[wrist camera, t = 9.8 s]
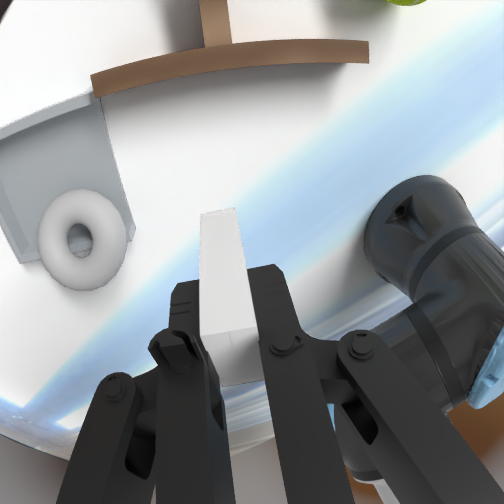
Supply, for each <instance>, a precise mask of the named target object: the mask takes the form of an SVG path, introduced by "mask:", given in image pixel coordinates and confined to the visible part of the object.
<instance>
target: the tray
mask: <svg viewBox="0 0 504 504" xmlns="http://www.w3.org/2000/svg"><path fill="white" fill-rule="evenodd" d="M77 189H87V190H91V191H95V192H98V193H99V194H101V195H102V196H104V197H105V198H107V199H108V200H110V201H111V202H112V204H113V205H114V206H115V208H116V209H117V210H118V212H119V213H120V215H121V218H122V220H123V223H124V226H125V228H126V240H127V242H130V241H132V239H133V236H134V232H135V229H136V227H135V224H134V221H133V218H132V214H131V211H130V208H129V205H128V202H127V199H126V195H125V192H124V189H123V186H122V182H121V179H120V175H119V172H118V168H117V165H116V161H115V158H114V154H113V150H112V147H111V143H110V139H109V135H108V131H107V127H106V123H105V119H104V115H103V111H102V106H101V102H100V97H97V98H95V96H94V91H91V92H88V93H85V94H82V95H79V96H76V97H73V98H70V99H67V100H65V101H62V102H59V103H57V104H54V105H52V106H49V107H46V108H44V109H42V110H39V111H37V112H34V113H32V114H30V115H27V116H25V117H23V118H21V119H18V120H16V121H14V122H12V123H10V124H8V125H6V126H4V127H2V128H0V226H1V228H2V230H3V232H4V234H5V236H6V238H7V240H8V242H9V244H10V246H11V248H12V250H13V252H14V254H15V256H16V258H17V259H18V261H19V263H20V264H21V263H25V262H30V261H35V260H39V259H41V257H40V254H39V249H38V239H37V236H38V229H39V223H40V221H41V219H42V216H43V214H44V212H45V210H46V208H47V207H48V206H49V205H50V204H51V202H52V201H53V200H54V199H55V198H56V197H58V196H60V195H62V194H63V193H65V192H67V191H70V190H77ZM67 238H68V245H69V248H70V250H71V251H72V253H73V252H78V251H83V250H88V249H92V247H93V237H92V234H91V232H90V230H89V229H88V228H87V227H86V226H85V225H83V224H80V223H79V224H75V225H73V226H72V227H71V228H70V230H69V232H68V237H67Z"/></svg>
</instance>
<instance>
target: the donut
mask: <svg viewBox="0 0 504 504" xmlns="http://www.w3.org/2000/svg"><path fill="white" fill-rule="evenodd" d="M79 223H80V224H83V225H85V226H86V227H87V228H88V229H89V230H90V232H91V234H92V237H93V247H92V250H91V252H90V254H89V255H88V256H85V257H78V256H76V255H75V254H73V253H72V251H71V250H70V248H69V245H68V238H67V237H68V232H69V230H70V228H71V227H72V226H73V225H75V224H79ZM37 239H38V249H39V254H40V257H41V259H42V262H43V264H44V266H45V268H46V269H47V271H48V272H49V273H50V275H51V276H52V277H53V278H54V279H55V280H56V281H58V282H59V283H60V284H62V285H63V286H65V287H67V288H70V289H73V290H76V291H91V290H94V289H97V288H99V287H101V286H104V285H106V284H107V283H108V282H109V281H110V280H111V279H112V278H113V277H114V276H115V275H116V274H117V272H118V270H119V268H120V267H121V265H122V263H123V261H124V257H125V252H126V247H127V240H126V228H125V226H124V223H123V220H122V218H121V215H120V213H119V212H118V210H117V209H116V208H115V206H114V205H113V204H112V202H111V201H110V200H108V199H107V198H105V197H104V196H102V195H101V194H99V193H98V192H95V191H91V190H87V189H77V190H70V191H67V192H65V193H63V194H62V195H60V196H58V197H56V198H55V199H54V200H53V201H52V202H51V204H50V205H49V206H48V207H47V208H46V210H45V212H44V214H43V216H42V219H41V221H40V223H39V229H38V236H37Z"/></svg>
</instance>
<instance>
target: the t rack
mask: <svg viewBox="0 0 504 504" xmlns="http://www.w3.org/2000/svg"><path fill="white" fill-rule="evenodd" d="M199 6H200V14H201V22H202V29H203V37H204V44H205V48H198V49H192V50H187V51H181V52H176V53H171V54H166V55H162V56H157V57H153V58H148V59H144V60H140V61H136V62H133V63H129V64H125V65H122V66H118V67H115V68H111V69H108V70H105V71H101V72H98V73H95V74H92V75H90V77H91V81H92V86H93V91H94V96H95V98H97V97H101V96H104V95H107V94H111V93H114V92H118V91H121V90H125V89H129V88H133V87H137V86H141V85H145V84H149V83H153V82H158V81H162V80H167V79H172V78H177V77H182V76H187V75H193V74H199V73H205V72H211V71H218V70H225V69H233V68H241V67H251V66H261V65H274V64H291V63H368V64H369V43H368V41H357V40H336V39H290V40H269V41H255V42H244V43H235V44H232V38H231V30H230V22H229V14H228V6H227V0H199Z"/></svg>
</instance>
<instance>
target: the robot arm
mask: <svg viewBox="0 0 504 504" xmlns="http://www.w3.org/2000/svg"><path fill="white" fill-rule="evenodd" d="M364 249H365V254H366V257H367V259H368V261H369V262H370V264H371V265H372V267H373V268H374V270H375V271H376V273H377V274H378V275H379V276H380V277H381V278H382V279H384V280H385V281H387V282H389V283H391V284H393V285H394V286H396V287H397V288H398V289H399V290H400V291H402V292H403V293H404V294H406V295H407V296H408V297H409V298H410V299H411V301H412V302H413V304H412V305H410V306H409V307H407V308H406V309H404V310H402V311H401V312H399V313H397V314H396V315H394V316H393V317H391V318H389V319H388V320H386V321H385V322H383V323H381V324H380V325H378V326H376V327H375V328H373V329H371V330H370V331H368V330H355V331H351V332H348V333H347V334H346V335H344V336H343V337H342V338H341V340H340V341H330V340H319V339H316V338H313V337H311V336H309V335H308V334H306V333H305V332H304V331H303V330H302V328H301V326H300V324H299V321H298V318H297V315H296V312H295V309H294V305H293V302H292V299H291V296H290V293H289V290H288V286H287V284H286V280H285V277H284V274H283V272H282V271H281V270H280V269H279V268H278V267H277V266H276V265H275V264H271V265H266V266H261V267H256V268H251V269H247V265H246V260H245V255H244V250H243V245H242V240H241V235H240V230H239V225H238V220H237V214H236V209H235V207H234V208H229V209H224V210H219V211H214V212H209V213H204V214H200V259H199V279H198V280H192V281H187V282H182V283H177V285H176V287H175V288H174V290H173V292H172V293H171V302H170V306H171V307H170V316H169V327H168V328H167V329H163V330H162V331H160V332H159V333H157V334H156V335H155V336H154V337H153V338H152V340H151V341H150V343H149V346H148V350H149V352H150V353H151V355H152V357H153V358H154V360H155V361H156V363H157V364H158V366H157V367H155V368H154V369H152V370H150V371H149V372H146V373H144V374H141V375H139V376H137V377H134V378H132V377H131V376H130V375H129V374H126V373H123V372H116V373H113V374H110V375H108V376H106V377H105V378H104V379H103V380H102V381H101V382H100V384H99V385H98V387H97V389H96V392H95V394H94V397H93V399H92V402H91V404H90V407H89V409H88V412H87V414H86V417H85V420H84V422H83V425H82V427H81V430H80V433H79V435H78V438H77V441H76V444H75V447H74V449H73V452H72V455H71V458H70V461H69V464H68V467H67V470H66V473H65V476H64V479H63V482H62V485H61V488H60V492H59V495H58V498H57V501H56V504H150V503H151V499H152V495H153V490H154V486H155V482H156V504H236V501H235V494H234V486H233V478H232V470H231V461H230V453H229V444H228V435H227V425H226V415H225V405H224V400H223V397H222V395H221V393H220V383H221V385H222V387H226V386H232V385H238V384H244V383H250V382H256V381H261V380H265V384H266V389H267V395H268V400H269V406H270V411H271V417H272V422H273V428H274V433H275V438H276V444H277V449H278V454H279V460H280V465H281V470H282V476H283V480H284V486H285V491H286V497H287V502H288V504H355V502H354V498H353V494H352V490H351V487H350V483H349V480H348V476H347V472H346V469H345V465H344V464H346V465H347V467H348V469H349V471H350V472H351V474H352V476H353V477H354V479H355V480H357V481H359V482H362V483H369V484H374V485H375V488H376V489H377V491H378V493H379V495H380V497H381V499H382V501H383V503H384V504H504V492H503V491H502V489H501V488H500V487H499V485H498V484H497V482H496V481H495V480H494V478H493V477H492V475H491V474H490V473H489V471H488V470H487V469H486V467H485V466H484V465H483V463H482V462H481V461H480V459H479V458H478V457H477V455H476V454H475V453H474V452H473V450H472V449H471V448H470V447H469V445H468V444H467V443H466V441H465V440H464V439H463V437H462V436H461V435H460V433H459V432H458V431H457V430H456V429H455V427H454V426H453V425H452V422H451V420H450V418H449V415H448V413H447V412H448V411H450V410H452V409H453V408H454V407H456V406H457V405H459V404H461V403H462V402H464V401H466V400H468V404H469V405H470V406H472V407H473V408H475V409H479V408H482V407H484V406H485V405H486V404H487V403H489V402H490V401H492V400H494V399H495V398H496V397H498V396H499V395H500V394H501V393H502V392H503V391H504V252H503V251H502V250H501V249H500V248H499V247H498V246H497V245H496V244H495V243H494V242H493V241H492V240H491V239H490V238H489V237H488V236H487V235H486V234H485V233H484V232H483V231H482V230H481V229H480V228H479V227H478V226H477V224H476V222H475V220H474V218H473V217H472V215H471V213H470V211H469V210H468V208H467V206H466V203H465V201H464V199H463V197H462V196H461V194H460V193H459V192H458V191H457V190H456V189H455V188H454V187H453V186H452V185H450V184H449V183H448V182H446V181H445V180H444V179H442V178H440V177H437V176H432V175H422V176H417V177H413V178H411V179H408V180H406V181H404V182H402V183H401V184H399V185H398V186H396V187H395V188H394V189H392V190H391V191H390V192H389V193H388V194H387V195H386V196H385V197H384V198H383V199H382V200H381V201H380V203H379V204H378V205H377V207H376V208H375V210H374V212H373V213H372V215H371V217H370V219H369V222H368V224H367V228H366V231H365V237H364Z"/></svg>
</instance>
